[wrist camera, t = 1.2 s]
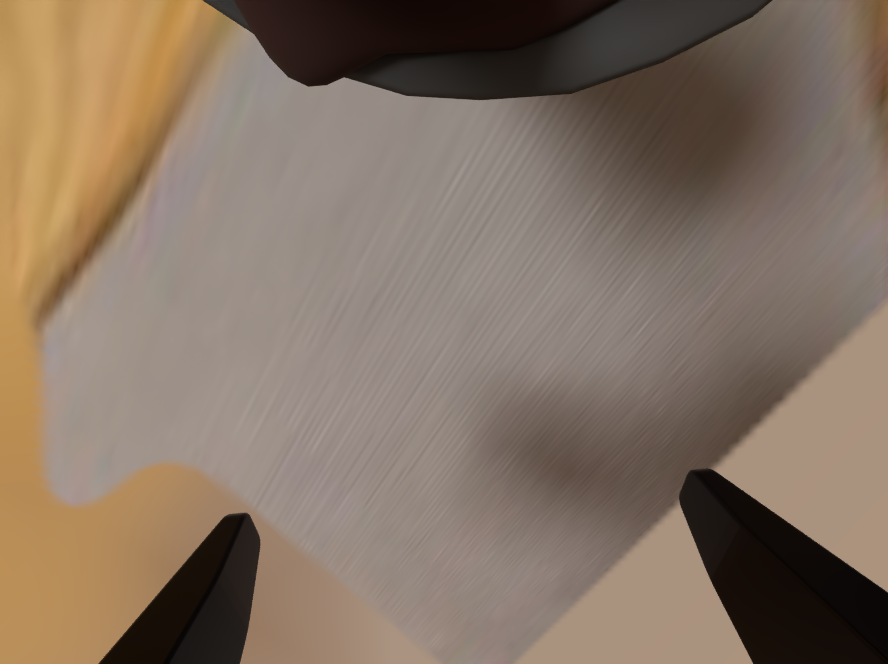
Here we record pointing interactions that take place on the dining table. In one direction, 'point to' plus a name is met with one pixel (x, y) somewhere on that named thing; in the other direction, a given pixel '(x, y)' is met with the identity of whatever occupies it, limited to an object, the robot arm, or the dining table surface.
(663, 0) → the sundae
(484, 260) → the dining table surface
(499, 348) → the dining table surface
